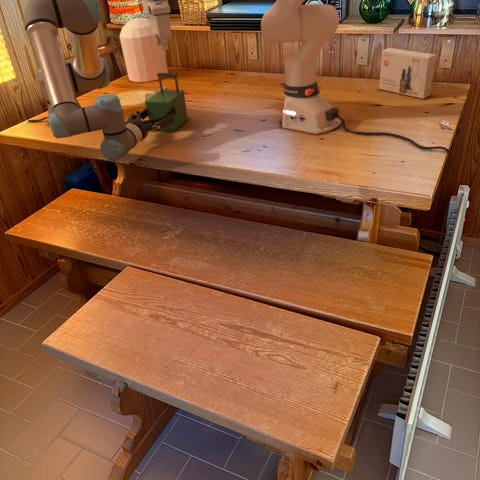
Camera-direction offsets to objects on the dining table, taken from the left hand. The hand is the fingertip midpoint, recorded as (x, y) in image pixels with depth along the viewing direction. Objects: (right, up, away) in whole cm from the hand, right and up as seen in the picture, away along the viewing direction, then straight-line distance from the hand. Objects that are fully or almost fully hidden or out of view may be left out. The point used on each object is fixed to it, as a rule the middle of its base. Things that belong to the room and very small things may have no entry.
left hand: (162, 110), depth 174 cm
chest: (+2, -4, +7) cm, 8 cm away
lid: (+1, +5, +1) cm, 5 cm away
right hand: (+1, +22, -5) cm, 22 cm away
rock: (-7, +13, +33) cm, 36 cm away
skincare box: (+96, +11, +15) cm, 98 cm away
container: (-19, +37, +69) cm, 81 cm away
